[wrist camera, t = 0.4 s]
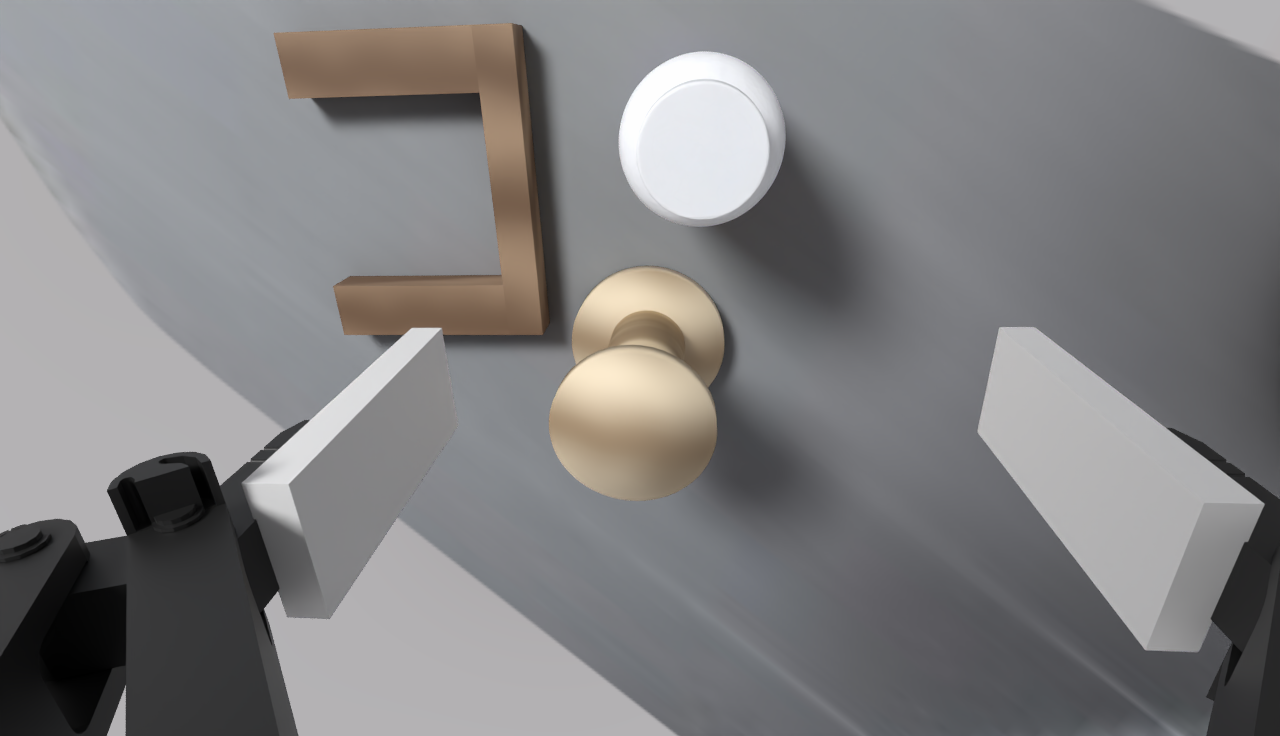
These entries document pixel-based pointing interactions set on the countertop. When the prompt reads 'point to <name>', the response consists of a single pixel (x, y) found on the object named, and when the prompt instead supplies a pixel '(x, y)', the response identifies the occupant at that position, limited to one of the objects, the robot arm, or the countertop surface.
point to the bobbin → (640, 385)
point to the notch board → (499, 76)
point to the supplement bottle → (702, 139)
